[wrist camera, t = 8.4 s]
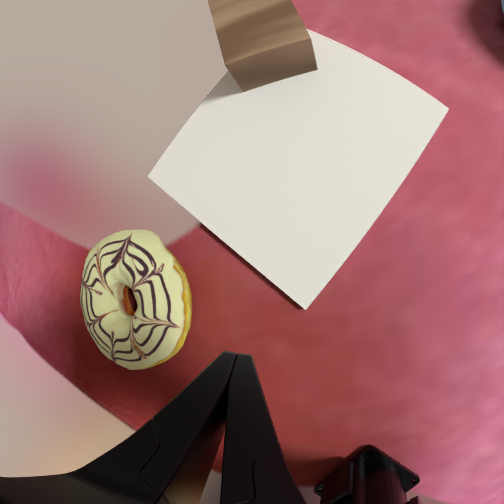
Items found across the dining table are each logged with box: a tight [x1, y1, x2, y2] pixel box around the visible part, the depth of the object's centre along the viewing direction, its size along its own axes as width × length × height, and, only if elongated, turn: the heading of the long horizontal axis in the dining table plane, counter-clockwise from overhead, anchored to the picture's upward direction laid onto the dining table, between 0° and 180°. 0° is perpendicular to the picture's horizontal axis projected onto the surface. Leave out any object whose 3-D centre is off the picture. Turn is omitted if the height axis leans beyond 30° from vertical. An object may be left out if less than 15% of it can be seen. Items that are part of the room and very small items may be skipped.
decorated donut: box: [80, 230, 192, 370], centre depth 23 cm, size 10×11×4 cm
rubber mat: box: [148, 29, 449, 310], centre depth 21 cm, size 16×18×1 cm
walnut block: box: [208, 0, 318, 92], centre depth 19 cm, size 4×6×9 cm
